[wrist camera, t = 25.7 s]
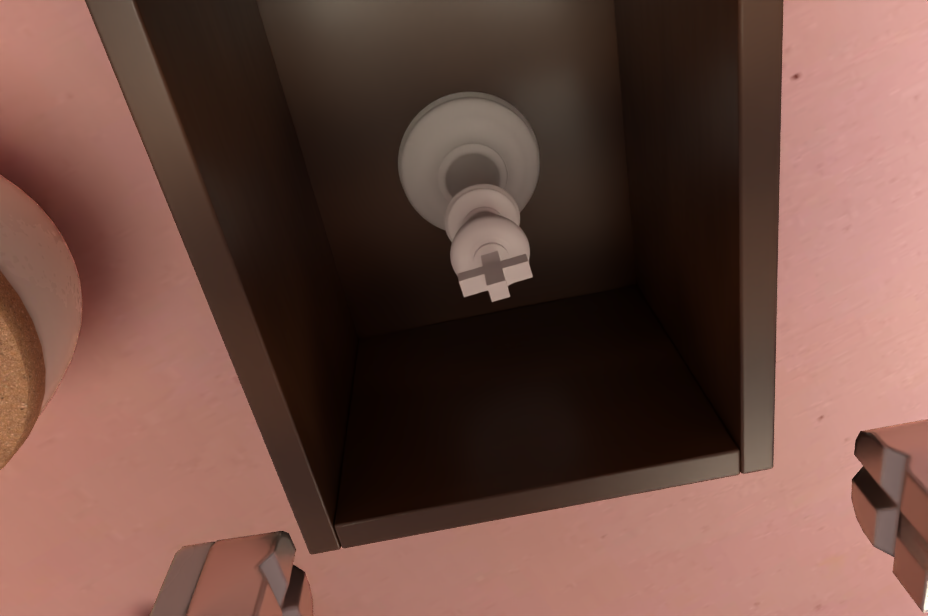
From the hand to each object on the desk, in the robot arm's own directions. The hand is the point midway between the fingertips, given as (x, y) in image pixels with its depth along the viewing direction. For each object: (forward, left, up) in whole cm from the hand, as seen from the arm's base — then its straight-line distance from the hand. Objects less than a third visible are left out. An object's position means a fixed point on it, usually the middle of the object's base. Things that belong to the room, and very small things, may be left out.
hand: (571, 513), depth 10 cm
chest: (+1, +1, -18) cm, 18 cm away
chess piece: (0, 0, -17) cm, 17 cm away
